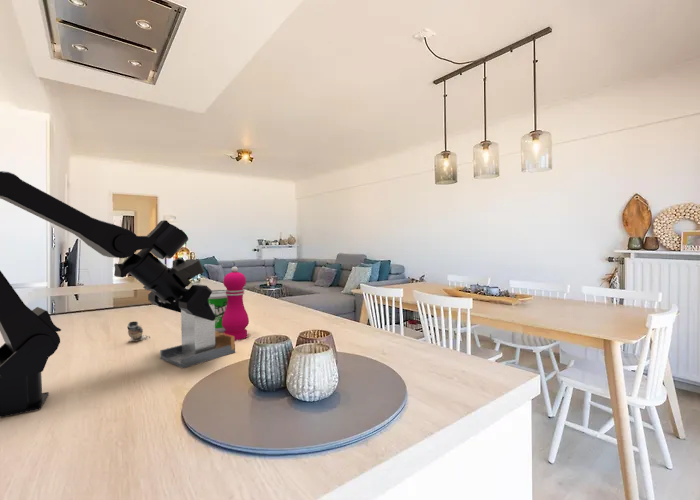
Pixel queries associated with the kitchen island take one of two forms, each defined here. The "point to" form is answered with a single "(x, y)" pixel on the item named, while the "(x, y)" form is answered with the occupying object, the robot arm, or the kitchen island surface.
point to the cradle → (222, 348)
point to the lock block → (197, 333)
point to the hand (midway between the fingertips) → (203, 316)
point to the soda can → (218, 307)
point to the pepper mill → (235, 305)
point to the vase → (135, 331)
